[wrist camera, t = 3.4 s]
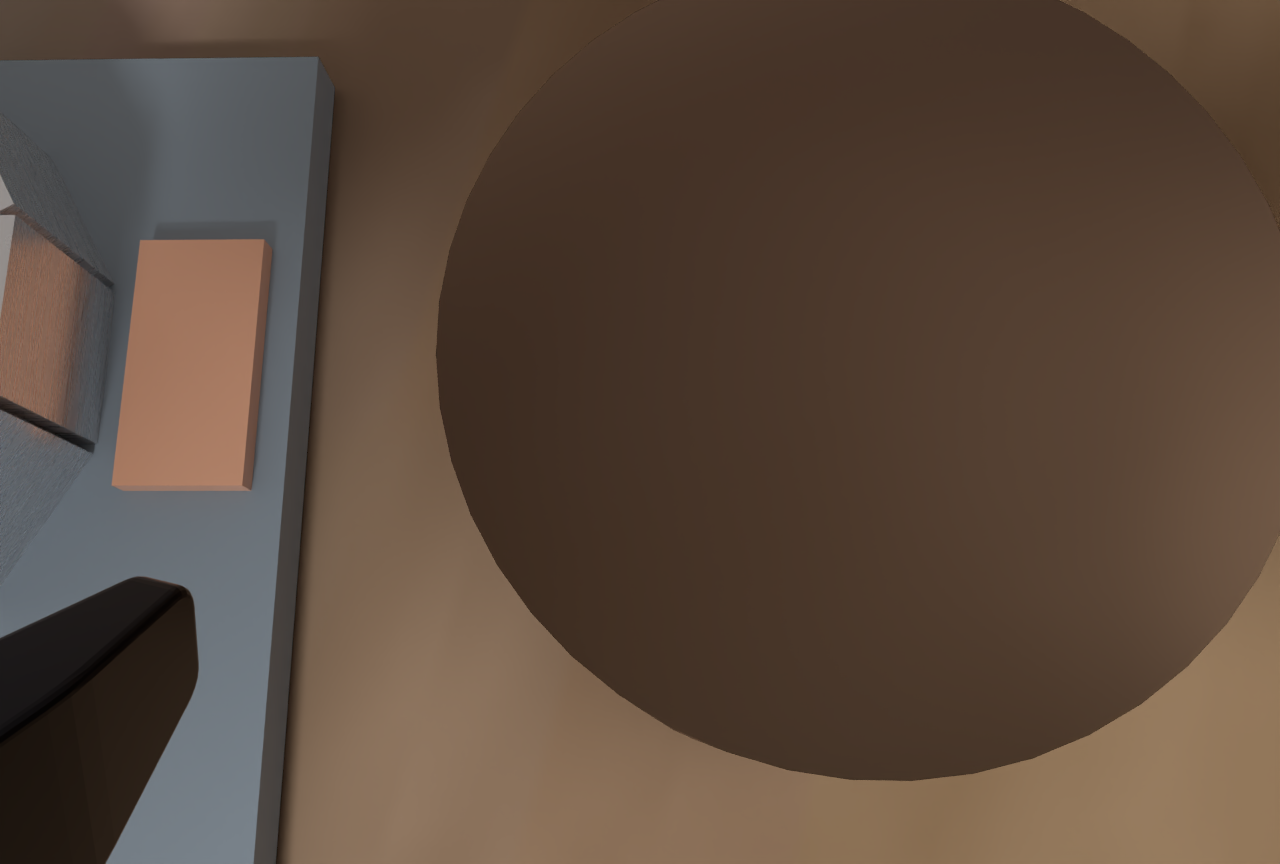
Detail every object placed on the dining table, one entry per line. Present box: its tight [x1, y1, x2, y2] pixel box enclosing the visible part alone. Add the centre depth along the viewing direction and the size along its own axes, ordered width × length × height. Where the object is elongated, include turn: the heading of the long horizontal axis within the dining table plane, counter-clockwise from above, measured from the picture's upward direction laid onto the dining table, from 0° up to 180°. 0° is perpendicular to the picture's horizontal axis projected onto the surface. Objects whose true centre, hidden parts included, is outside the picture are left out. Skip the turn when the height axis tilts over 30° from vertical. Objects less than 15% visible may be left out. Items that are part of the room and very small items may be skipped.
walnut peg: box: [436, 0, 1280, 781], centre depth 13 cm, size 5×5×12 cm
